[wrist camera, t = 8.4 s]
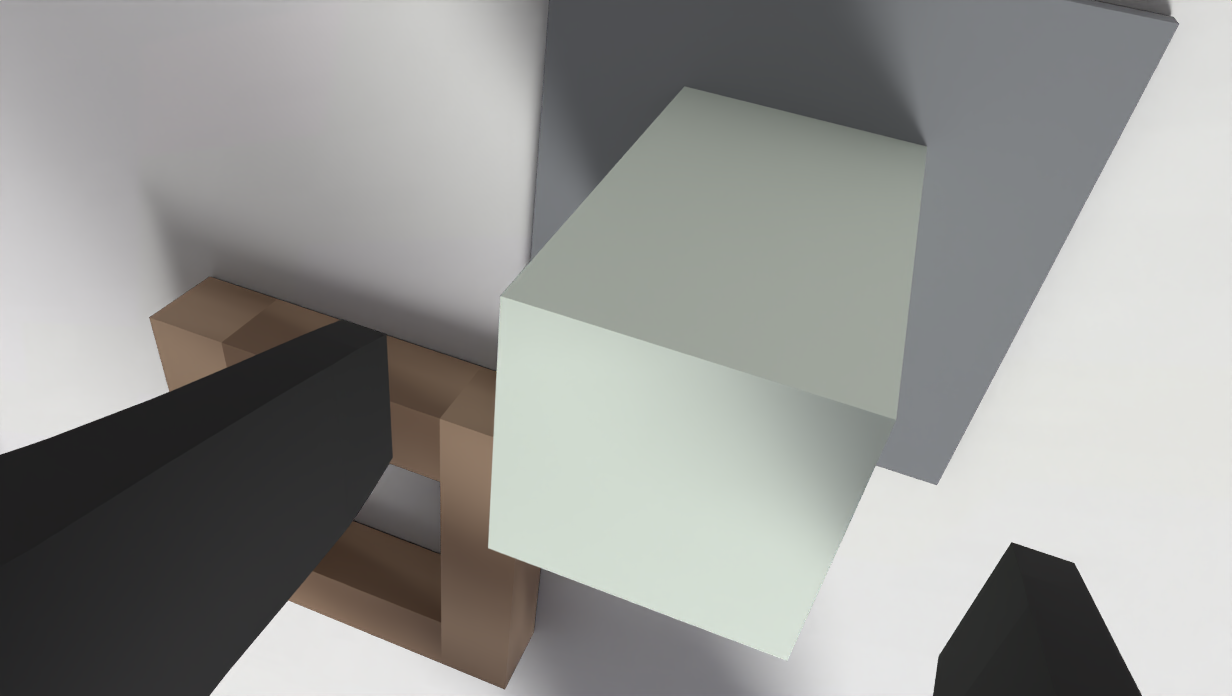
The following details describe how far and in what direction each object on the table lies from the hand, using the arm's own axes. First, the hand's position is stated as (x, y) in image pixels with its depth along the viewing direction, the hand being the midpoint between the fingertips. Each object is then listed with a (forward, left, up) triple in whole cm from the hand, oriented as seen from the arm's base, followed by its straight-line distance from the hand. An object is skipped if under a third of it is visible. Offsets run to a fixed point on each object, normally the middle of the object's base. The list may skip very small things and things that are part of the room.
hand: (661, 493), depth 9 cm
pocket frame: (-10, +9, -7) cm, 15 cm away
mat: (0, 0, -7) cm, 7 cm away
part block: (0, 0, -7) cm, 7 cm away
